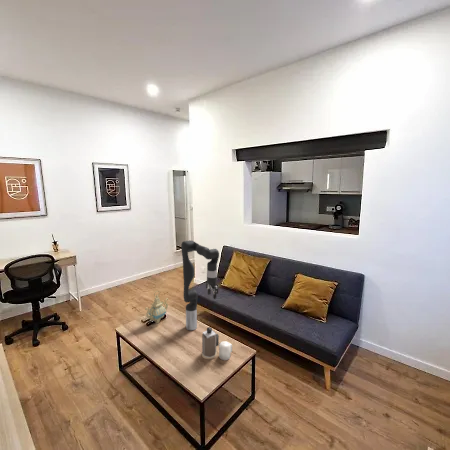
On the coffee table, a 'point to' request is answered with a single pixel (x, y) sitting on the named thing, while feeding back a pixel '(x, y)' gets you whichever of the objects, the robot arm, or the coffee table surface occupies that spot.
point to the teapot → (157, 309)
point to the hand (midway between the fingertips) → (211, 296)
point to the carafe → (209, 344)
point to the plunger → (209, 330)
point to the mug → (225, 350)
